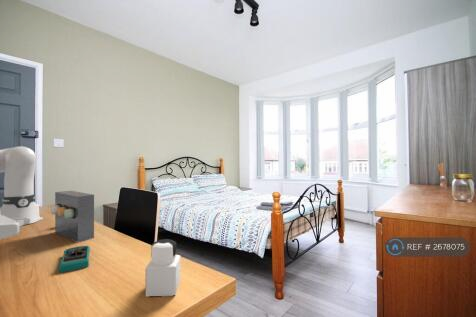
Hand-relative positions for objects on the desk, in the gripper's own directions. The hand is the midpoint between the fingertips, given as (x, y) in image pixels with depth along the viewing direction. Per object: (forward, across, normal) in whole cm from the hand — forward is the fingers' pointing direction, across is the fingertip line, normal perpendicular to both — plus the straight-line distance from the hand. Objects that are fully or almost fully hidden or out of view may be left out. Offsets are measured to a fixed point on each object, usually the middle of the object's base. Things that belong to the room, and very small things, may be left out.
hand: (28, 220), depth 82 cm
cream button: (+13, -13, -2) cm, 18 cm away
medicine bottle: (+11, +60, -11) cm, 61 cm away
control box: (+17, -6, -11) cm, 21 cm away
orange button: (+13, -7, -2) cm, 14 cm away
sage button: (+13, 0, -2) cm, 13 cm away
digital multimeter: (+6, +23, -12) cm, 26 cm away
